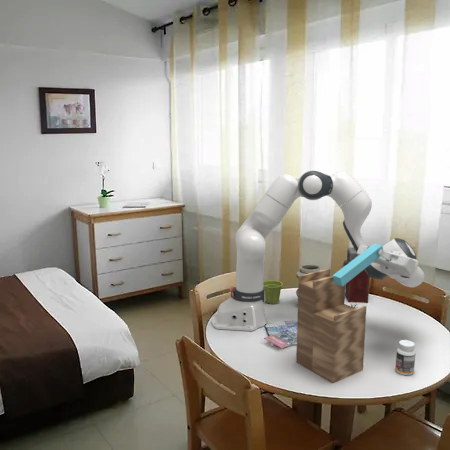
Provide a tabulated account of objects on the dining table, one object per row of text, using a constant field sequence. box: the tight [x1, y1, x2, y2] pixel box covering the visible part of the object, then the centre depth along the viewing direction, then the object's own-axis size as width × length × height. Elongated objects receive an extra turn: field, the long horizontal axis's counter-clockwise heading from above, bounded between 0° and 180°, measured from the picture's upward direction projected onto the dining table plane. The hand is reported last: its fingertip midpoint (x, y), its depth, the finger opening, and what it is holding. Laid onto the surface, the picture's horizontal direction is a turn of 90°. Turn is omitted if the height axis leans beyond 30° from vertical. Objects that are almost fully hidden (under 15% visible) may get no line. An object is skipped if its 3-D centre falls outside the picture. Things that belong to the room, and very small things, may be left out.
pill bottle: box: [395, 339, 416, 376], centre depth 154 cm, size 6×6×10 cm
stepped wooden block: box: [295, 268, 367, 384], centre depth 155 cm, size 14×16×30 cm
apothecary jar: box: [295, 263, 322, 298], centre depth 210 cm, size 12×12×18 cm
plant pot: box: [263, 280, 284, 305], centre depth 216 cm, size 9×9×9 cm
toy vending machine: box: [341, 247, 371, 304], centre depth 217 cm, size 9×11×28 cm
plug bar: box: [332, 242, 383, 287], centre depth 155 cm, size 21×3×3 cm, turn 124°
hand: (373, 250), depth 158 cm, fingers closed on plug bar, 3 cm apart
